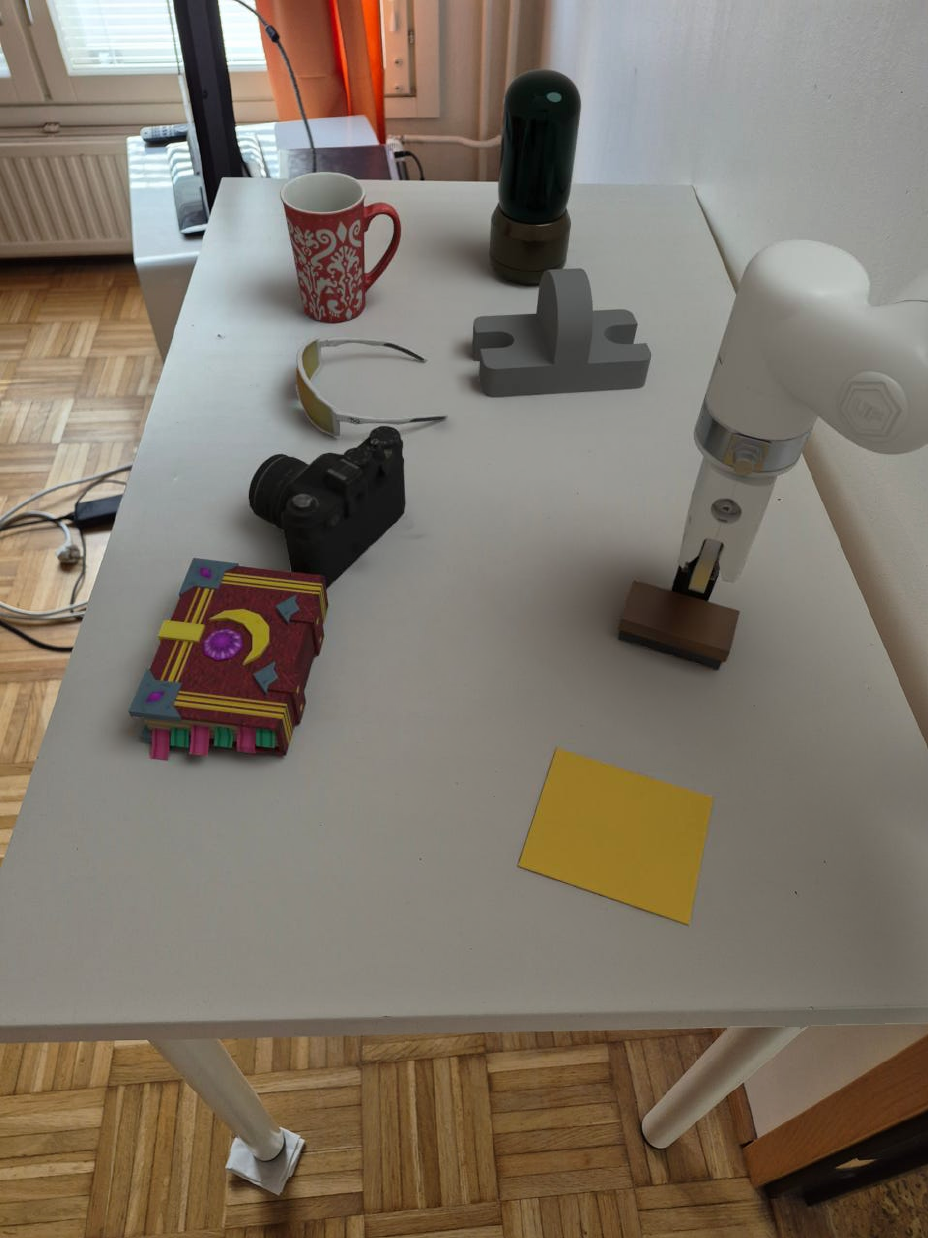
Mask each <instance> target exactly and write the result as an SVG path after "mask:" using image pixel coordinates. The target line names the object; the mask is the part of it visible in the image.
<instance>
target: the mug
mask: <svg viewBox="0 0 928 1238" xmlns="http://www.w3.org/2000/svg"><path fill="white" fill-rule="evenodd" d="M366 195H367V191H366V188H365V186H364V185H363V183H362V182H361V181H360V180H358V179H357V178H355V177H353V176H351V175H348V174H345V173H340V172H333V171H319V172H310V173H306V174H302V175H298V176H296V177H293V178H292V179H290V180H289V181H287V182H285V184H284V185H282V187H281V189H280V191H279V199H280V200H281V202H282V204H283V209H284V214H285V220H286V226H287V230H288V235H289V241H290V245H291V250H292V255H293V262H294V266H295V271H296V276H297V282H298V286H299V292H300V298H301V303H302V308H303V311H304V313H305V314H306V315H307V316H309V317H310V318H311V319H313V320H316V321H318V322H323V323H329V324H330V323H331V324H332V323H333V324H335V323H343V322H346V321H350V320H352V319H354V318H357V317H358V316H359V315H360V314H361V313H363V311H364V310H365V307H366V293H367V292H368V291H369V290H370V288H371V287H372V286H373V285H374V284H375V283H376V281H377V280H379V278H380V277H381V275H383V273H384V272H385V270H387V268H388V267H389V265H390V263H391V262H392V260H393V259H394V256H395V255H396V253H397V251H398V248H399V246H400V242H401V237H402V223H401V219H400V216H399V213H398V211H397V210H396V209H395V207H394V206H392V205H391V204H389V203H387V202H374V203H371V204H369V205H366V206H365V199H366ZM380 215H385V216H388V217H389V218H390V219H391V221H392V224H393V225H392V226H393V233H392V237H391V240H390V243H389V245H388V246H387V247H386V250H385V252H384V254H383V255H382V256H381V257H380V259H379V260H378V262H377V263H376V265H374V267H373V268H372V269H371V270H370V271H369V272H365V271H366V269H365V267H366V266H365V265H366V263H365V261H366V260H365V257H366V255H365V234H366V232H368V230H369V228H370V225H371V222H372V221H373V220H374V219H375V218H376V217H377V216H380Z"/></svg>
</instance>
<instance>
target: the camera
mask: <svg viewBox="0 0 928 1238" xmlns="http://www.w3.org/2000/svg"><path fill="white" fill-rule="evenodd" d="M403 450H404V441H403V440H402V438H401V433H400V431H399V430H398V429H397V428H395V427H393V426H389V425H380V426H377V427H375V428H373V429H372V430H371V431H370V432H369V434H368V437H367V438H366V439H364V441H362V442H361V443H360V444H359V445H357V446H356V447H351V448H349V449H346V450H345V451H344V453H343V454H341V453H335V452H325V453H322V454H320V455H318V456H317V457H316V458H315V459H314V460H313V461H311V463H307V462H305V461H303V460H301V459H299V458H297V457H295V456H289V455H287V454H282V453H276V454H273V455H271V456H270V457H268V458H267V459H265V460H264V461H263V462H262V463H261V464H260V465H259V466H258V468H257V470H256V471H255V473H254V474H253V477H252V479H251V481H250V484H249V489H248V503H249V507H250V509H251V510H252V512H253V513H254V515H255V516H257V517H259V518H260V519H262V520H263V521H264V522H267V523H268V524H269V525H272V526H274V527H275V528H276V529H279V530H280V531H282V532H283V536H284V541H285V546H286V552H287V557H288V563H289V568H290V572H297V573H305V574H314V575H323V576H325V583H326V590H328V589H329V588H330V587H331V586H332V584H333V583H334V582H336V581H337V580H338V579H339V578H340V577H341V576H342V575H343V574H344V573H345V572H346V571H347V570H348V569H349V568H350V567H351V566H352V565H353V564H354V563H355V562H357V561H358V560H359V559H360V558H361V556H363V555H364V554H365V553H366V552H367V551H368V550H369V548H370V547H371V546H372V545H374V544H375V543H376V542H378V540H380V538H381V537H382V536H383V535H384V534H385V533H386V532H387V531H388V530H389V529H391V528H392V527H393V526H394V525H395V524H396V523H397V522H398V521H399V520H400V519H401V518H402V516H403V515H404V513H405V510H406V503H407V502H406V486H405V458H404V455H403Z"/></svg>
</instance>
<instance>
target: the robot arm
mask: <svg viewBox="0 0 928 1238" xmlns="http://www.w3.org/2000/svg"><path fill="white" fill-rule="evenodd" d="M870 294H871V282H870V277H869V274H868V272H867V270H866V268H865V267H864V266H863V265H862V264H861V263H860V261H859V260H858V259H857V258H856V257H854V256H853V255H852V254H851V253H849V252H847V251H846V250H844V249H841V248H840V247H839V246H838V247H837V246H835V245H833V244H829V243H827V242H823V241H818V240H813V239H804V238H803V239H802V238H794V239H793V238H790V239H783V240H779V241H776V242H773V243H770V244H768V245H766V246H764V247H763V248H761V249H760V250H759V251H757V252H755V254H754V255H753V256H752V257H751V259H750V260H749V261H748V263H747V265H746V266H745V269H744V270H743V273H742V277H741V279H740V281H739V285H738V288H737V291H736V294H735V298H734V301H733V304H732V308H731V310H730V312H729V313H730V314H729V317H728V320H727V323H726V327H725V330H724V333H723V335H722V339H721V343H720V346H719V350H718V352H717V355H716V358H715V361H714V365H713V368H712V372H711V375H710V378H709V381H708V383H707V384H708V385H707V387H706V391H705V394H704V397H703V400H702V403H701V407H700V410H699V414H698V417H697V420H696V423H695V426H694V430H693V440H694V443H695V446H696V448H697V450H698V451H699V453H700V454H701V455H702V456H703V457H702V460H701V462H700V467H699V470H698V473H697V476H696V480H695V482H694V486H693V490H692V494H691V498H690V502H689V507H688V509H687V514H686V519H685V524H684V529H683V534H682V539H681V543H680V548H679V554H678V559H677V563H678V567H677V569H676V572H675V575H674V579H673V582H672V585H671V587H670V590H671V591H674V592H677V593H681V594H684V595H687V596H691V597H694V598H698V599H701V600H704V601H708V602H709V601H710V598H711V596H712V593H713V590H714V588H715V586H716V583H717V580H718V578H719V575H720V577H721V580H722V581H724V582H729V583H730V584H733V583H736V582H737V581H738V580H740V578H741V575H742V573H743V569H744V567H745V565H746V562H747V559H748V556H749V554H750V552H751V549H752V547H753V544H754V541H755V538H756V536H757V534H758V531H759V529H760V526H761V523H762V521H763V518H764V516H765V513H766V510H767V508H768V506H769V502H770V500H771V496H772V495H773V494H772V493H773V490H774V489H775V488H774V487H775V484H776V482H777V478H778V476H781V475H784V474H786V473H788V472H789V471H791V470H792V469H793V468H794V467H795V466H797V464H798V462H799V460H800V457H801V455H802V452H803V450H804V448H805V446H806V444H807V441H808V439H809V438H810V435H811V433H812V430H813V428H814V425H815V423H816V422H817V419H818V417H819V418H820V419H821V420H822V421H823V422H825V423H826V424H827V425H828V426H829V427H831V428H832V429H833V430H834V431H835V432H837V433H838V434H840V435H841V436H842V437H844V438H846V439H847V440H849V442H851V443H852V444H855V445H856V446H858V447H860V448H863V449H864V450H867V451H870V452H873V453H876V454H881V455H887V456H888V455H890V456H891V455H893V456H895V455H897V456H898V455H903V454H908V453H912V452H915V451H917V450H921V448H923V447H925V446H926V445H928V265H927V266H926V267H925V268H923V269H922V270H921V271H920V272H918V273H917V274H916V275H914V276H913V277H912V278H910V279H909V280H908V281H907V282H906V283H905V284H904V285H902V286H901V287H900V288H899V289H897V291H895V292H894V293H893V294H892V295H891V296H890V297H889V298H888V299H887V300H886V301H885V302H883V304H882V305H876V306H874V305H871V303H870V302H869V300H870V296H871V295H870Z"/></svg>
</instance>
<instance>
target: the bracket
mask: <svg viewBox="0 0 928 1238" xmlns="http://www.w3.org/2000/svg"><path fill="white" fill-rule="evenodd" d="M472 322H473V324H472V325H473V326H472V343H471V344H472V345H471V352H472V356H473V360H474V362H479V365H478V380H479V384H480V388H481V392H482V394H483V395H484V396H486V397H488V398H505V397H506V398H509V397H511V398H512V397H524V396H525V397H527V396H537V395H538V396H540V395H541V396H542V395H556V394H573V393H587V392H591V393H592V392H604V391H623V390H638V389H642V388H643V387H644V386H645V385H646V382H647V376H648V372H649V368H650V363H651V358H652V352H651V350H650V347H649V345H648V343H647V342H641V343H635V339H636V333H637V329H638V325H639V324H638V322H637V319H636V317H635V315H634V313H633V312H631V311H630V310H628V309H626V308H625V309H624V308H616V309H597V310H594V305H593V294H592V289H591V284H590V280H589V277H588V273H587V272H586V270H585V269H583V268H582V267H579V268H578V267H577V268H563V269H555V270H546V271H544V273H543V275H542V278H541V282H540V283H539V288H538V294H537V304H536V312H535V313H519V314H517V313H516V314H501V315H482V316H481V315H480V316H477V317H475V318H474V320H473V321H472Z"/></svg>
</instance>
